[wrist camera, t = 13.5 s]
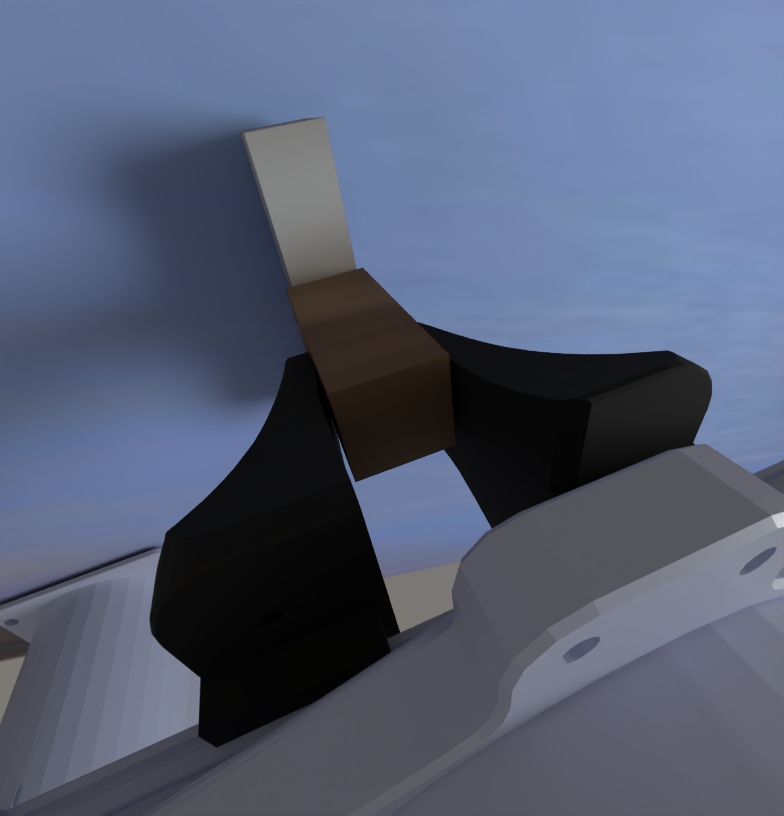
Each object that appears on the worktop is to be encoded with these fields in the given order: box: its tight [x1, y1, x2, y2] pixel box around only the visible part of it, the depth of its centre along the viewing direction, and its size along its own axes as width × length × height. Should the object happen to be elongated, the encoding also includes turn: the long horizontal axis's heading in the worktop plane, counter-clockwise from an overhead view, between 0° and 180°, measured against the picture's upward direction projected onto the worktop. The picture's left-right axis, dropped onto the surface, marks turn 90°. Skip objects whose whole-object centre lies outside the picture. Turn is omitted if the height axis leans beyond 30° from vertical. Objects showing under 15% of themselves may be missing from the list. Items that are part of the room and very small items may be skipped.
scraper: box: [240, 117, 456, 482], centre depth 12 cm, size 10×2×9 cm, turn 10°
